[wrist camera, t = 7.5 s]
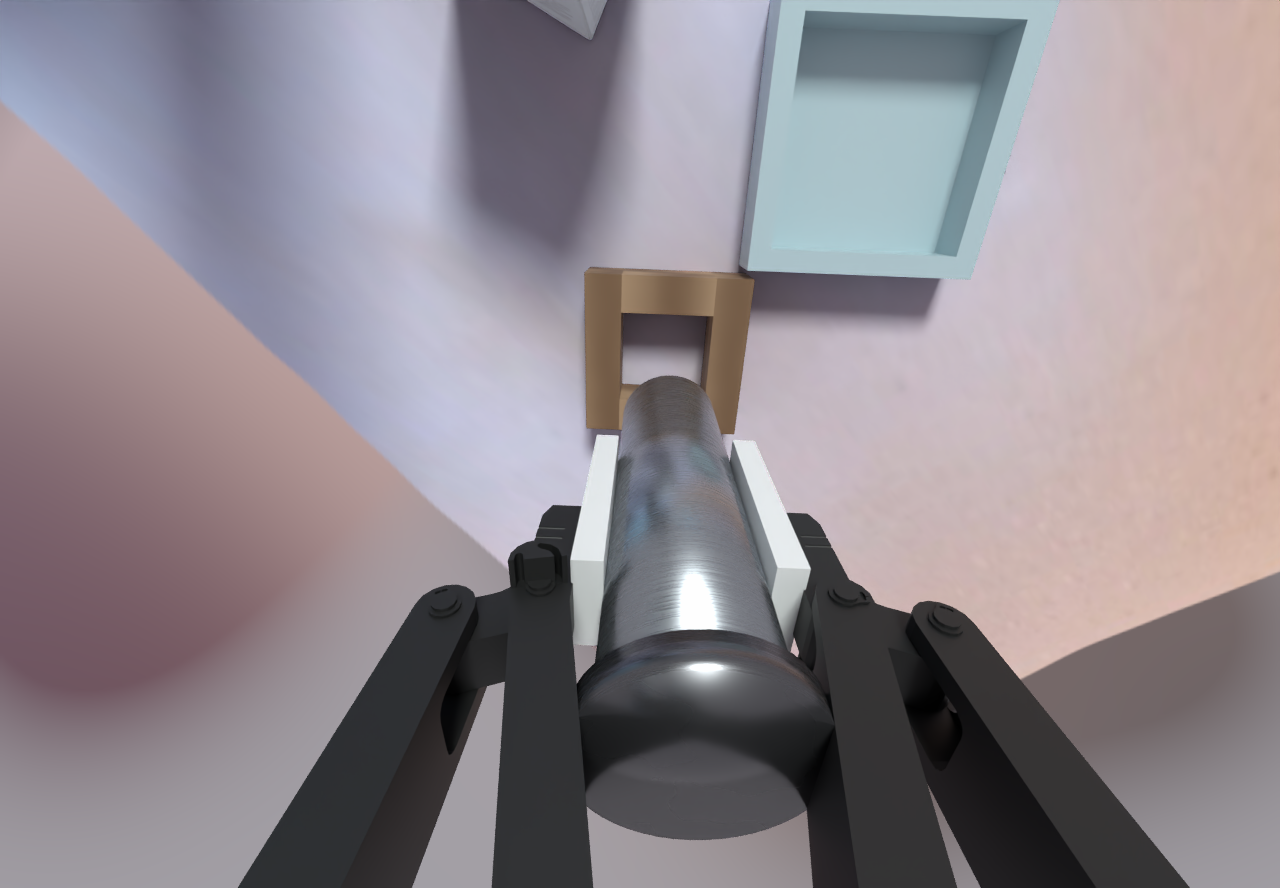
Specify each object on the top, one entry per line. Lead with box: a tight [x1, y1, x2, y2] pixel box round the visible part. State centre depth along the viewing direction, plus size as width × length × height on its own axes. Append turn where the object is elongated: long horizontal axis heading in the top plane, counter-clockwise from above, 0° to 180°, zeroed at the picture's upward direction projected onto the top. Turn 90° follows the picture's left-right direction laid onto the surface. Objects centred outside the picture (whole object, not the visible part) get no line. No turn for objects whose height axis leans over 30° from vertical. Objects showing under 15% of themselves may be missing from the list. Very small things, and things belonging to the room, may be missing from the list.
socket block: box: [584, 267, 755, 434], centre depth 32 cm, size 10×10×3 cm
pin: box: [577, 376, 835, 840], centre depth 15 cm, size 5×5×15 cm
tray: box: [739, 0, 1060, 280], centre depth 27 cm, size 13×13×3 cm
